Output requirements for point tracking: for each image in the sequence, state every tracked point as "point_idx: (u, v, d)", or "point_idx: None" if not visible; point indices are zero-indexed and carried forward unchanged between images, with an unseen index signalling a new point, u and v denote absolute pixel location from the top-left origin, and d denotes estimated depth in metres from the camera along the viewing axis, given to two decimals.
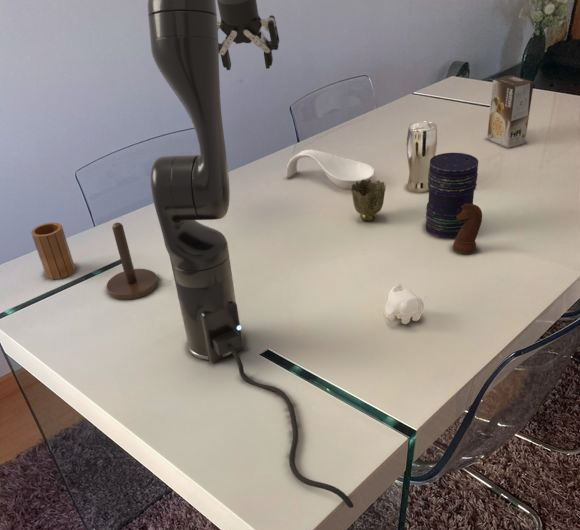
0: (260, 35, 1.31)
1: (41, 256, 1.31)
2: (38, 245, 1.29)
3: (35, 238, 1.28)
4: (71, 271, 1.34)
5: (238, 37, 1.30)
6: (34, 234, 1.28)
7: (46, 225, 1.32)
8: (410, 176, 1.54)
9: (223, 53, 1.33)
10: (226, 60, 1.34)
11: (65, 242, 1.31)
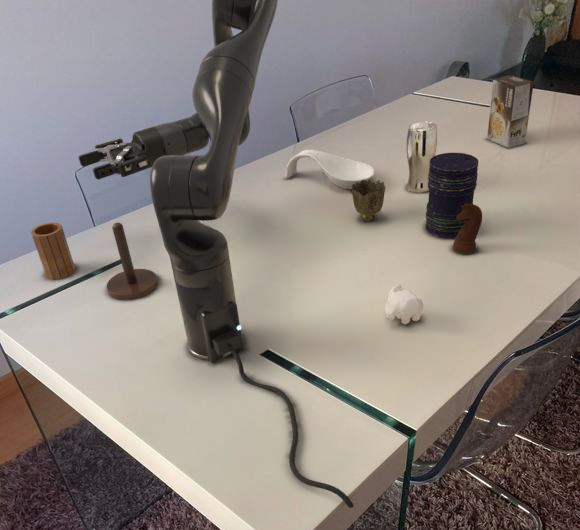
0: None
1: (41, 256, 1.31)
2: (38, 245, 1.29)
3: (35, 238, 1.28)
4: (71, 271, 1.34)
5: (119, 150, 1.31)
6: (34, 234, 1.28)
7: (46, 225, 1.32)
8: (410, 176, 1.54)
9: (97, 149, 1.32)
10: (90, 153, 1.31)
11: (65, 242, 1.31)
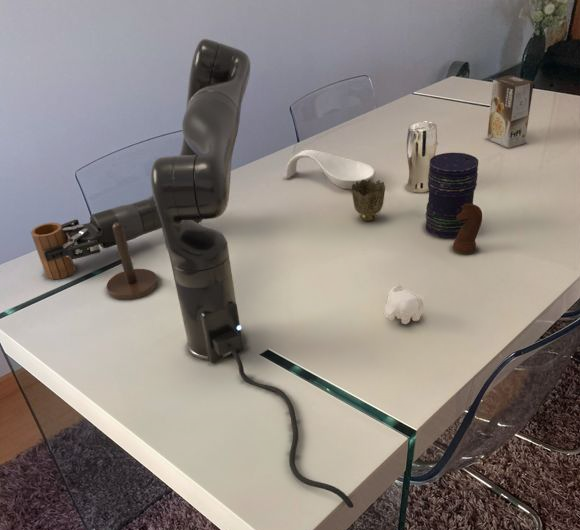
0: None
1: (41, 256, 1.31)
2: (38, 245, 1.29)
3: (35, 238, 1.28)
4: (71, 271, 1.34)
5: (76, 232, 1.34)
6: (34, 234, 1.28)
7: (46, 225, 1.32)
8: (410, 176, 1.54)
9: None
10: None
11: (65, 242, 1.31)
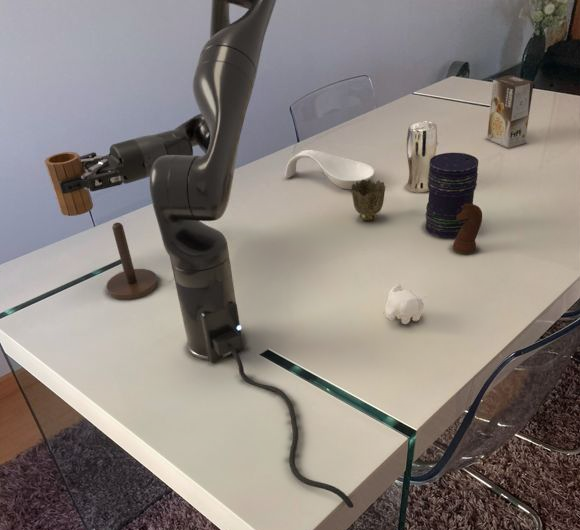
0: None
1: (56, 189, 1.17)
2: (53, 175, 1.15)
3: (49, 167, 1.14)
4: (89, 207, 1.21)
5: (94, 164, 1.21)
6: (48, 162, 1.14)
7: (61, 155, 1.18)
8: (410, 176, 1.54)
9: None
10: None
11: (82, 173, 1.18)
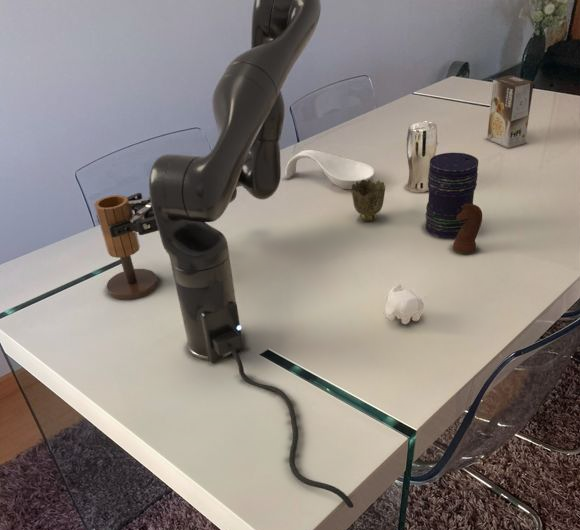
0: None
1: (105, 232, 1.19)
2: (102, 219, 1.17)
3: (100, 211, 1.16)
4: (136, 249, 1.22)
5: (141, 206, 1.22)
6: (98, 207, 1.16)
7: (110, 198, 1.20)
8: (410, 176, 1.54)
9: None
10: None
11: (131, 216, 1.20)
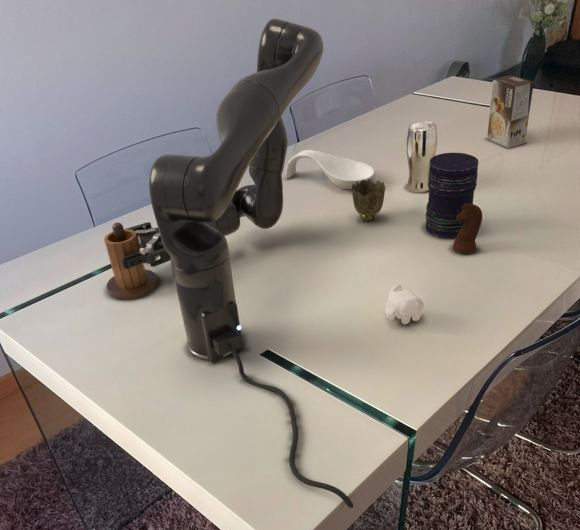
0: None
1: (114, 265, 1.23)
2: (112, 253, 1.21)
3: (109, 246, 1.20)
4: (144, 280, 1.27)
5: (148, 236, 1.26)
6: (108, 241, 1.20)
7: None
8: (410, 176, 1.54)
9: None
10: None
11: (139, 250, 1.24)
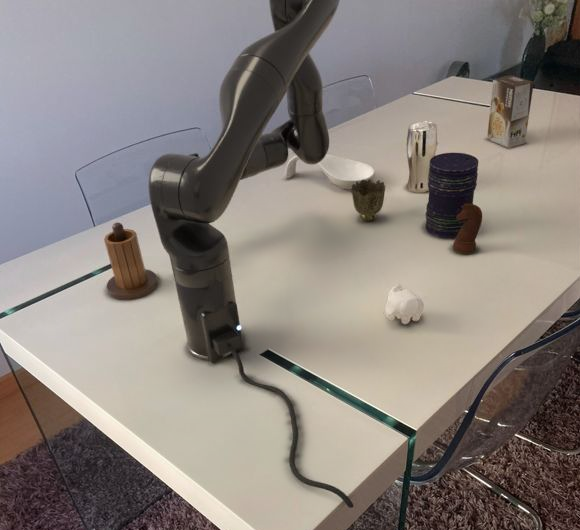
0: None
1: (114, 265, 1.23)
2: (112, 253, 1.21)
3: (109, 246, 1.20)
4: (144, 280, 1.27)
5: None
6: (108, 241, 1.20)
7: None
8: (410, 176, 1.54)
9: None
10: None
11: (139, 250, 1.24)
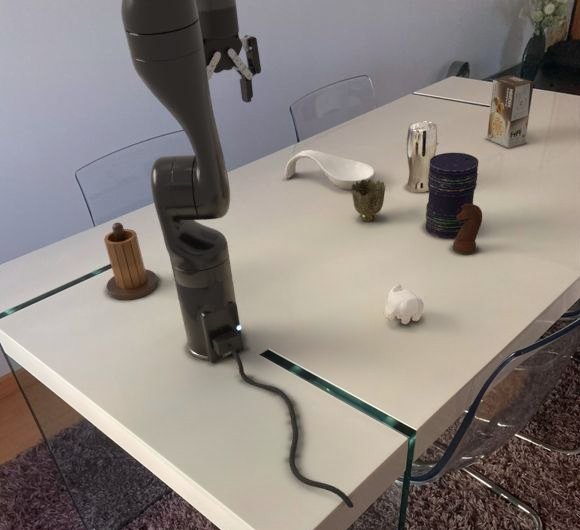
0: None
1: (114, 265, 1.23)
2: (112, 253, 1.21)
3: (109, 246, 1.20)
4: (144, 280, 1.27)
5: (219, 63, 1.07)
6: (108, 241, 1.20)
7: None
8: (410, 176, 1.54)
9: None
10: None
11: (139, 250, 1.24)
